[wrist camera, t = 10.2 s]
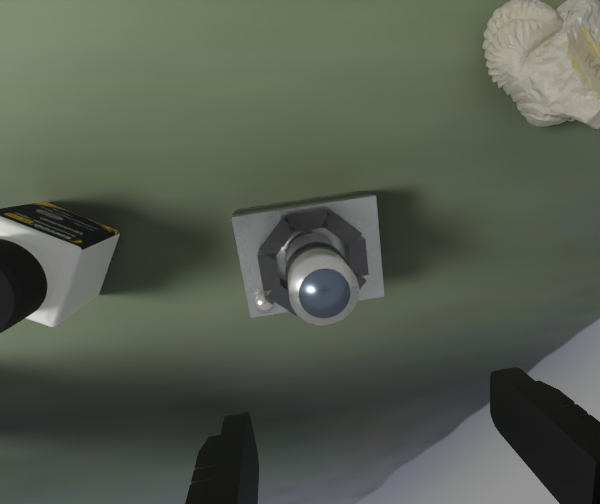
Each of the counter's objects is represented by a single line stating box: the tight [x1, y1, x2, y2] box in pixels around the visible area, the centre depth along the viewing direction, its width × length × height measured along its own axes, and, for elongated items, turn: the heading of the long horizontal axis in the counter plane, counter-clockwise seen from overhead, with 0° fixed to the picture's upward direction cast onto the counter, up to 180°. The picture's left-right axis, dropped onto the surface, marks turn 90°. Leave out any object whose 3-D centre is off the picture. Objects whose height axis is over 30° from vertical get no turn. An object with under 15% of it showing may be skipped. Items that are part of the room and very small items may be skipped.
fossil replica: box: [482, 0, 600, 129], centre depth 27 cm, size 12×8×10 cm
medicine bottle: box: [0, 202, 120, 333], centre depth 26 cm, size 7×7×12 cm
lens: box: [285, 233, 359, 325], centre depth 25 cm, size 5×5×8 cm
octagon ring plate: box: [231, 191, 384, 318], centre depth 30 cm, size 12×9×7 cm
